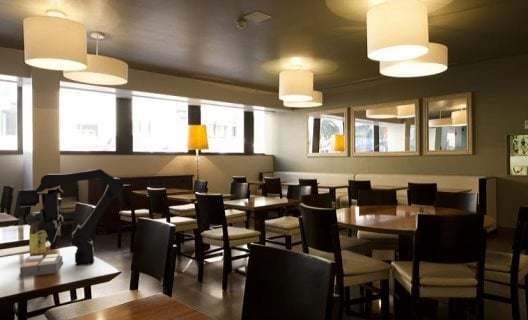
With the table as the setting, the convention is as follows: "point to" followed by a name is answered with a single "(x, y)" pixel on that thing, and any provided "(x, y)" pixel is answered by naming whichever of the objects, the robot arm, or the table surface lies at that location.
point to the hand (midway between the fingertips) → (51, 243)
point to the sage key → (53, 256)
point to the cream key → (49, 261)
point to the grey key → (35, 258)
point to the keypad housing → (41, 268)
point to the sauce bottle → (36, 240)
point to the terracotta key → (31, 264)
